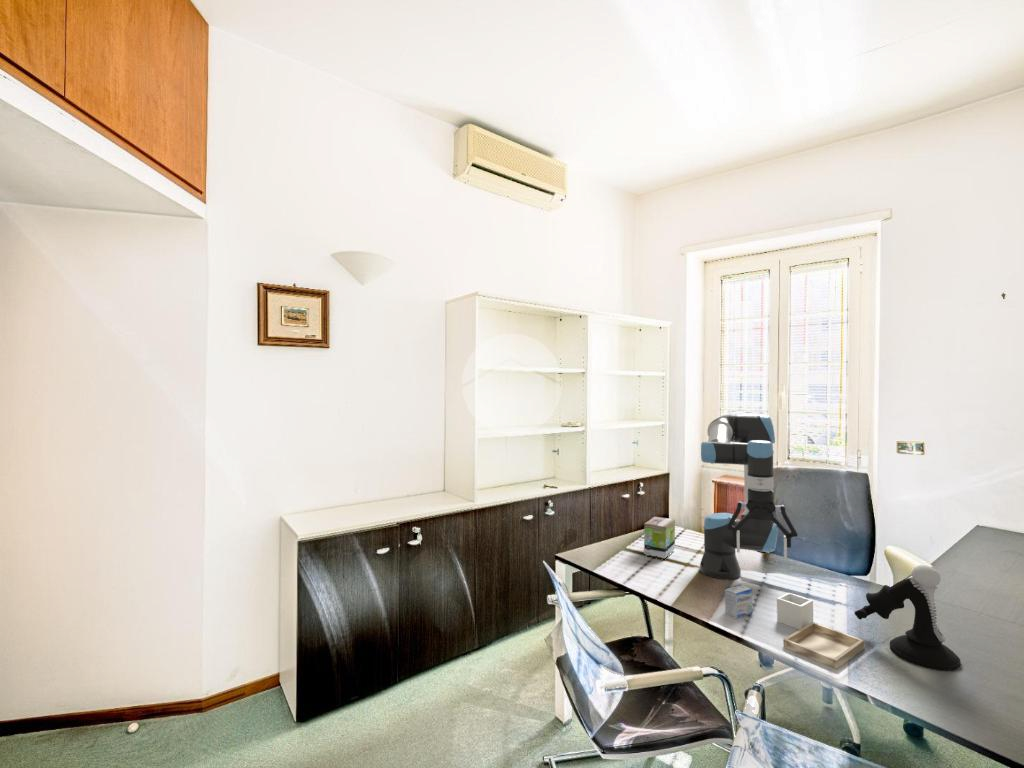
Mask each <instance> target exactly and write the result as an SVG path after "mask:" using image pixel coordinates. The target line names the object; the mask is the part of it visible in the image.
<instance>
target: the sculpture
mask: <svg viewBox="0 0 1024 768" xmlns="http://www.w3.org/2000/svg"><path fill="white" fill-rule="evenodd" d="M940 582H941V575H940V573H939V572H938V570H936V569H935V568H934V567H932V566H929V565H926V564H925V565H924V564H920V565H916V566H914V567H913V569H912V570H911V577H908V578H904V579H902V580H900V581H897V582H896V583H894V584H893V585H891V586H890V585H887V584H885V585H882V587H881V589H880V590H879V591H878V592H874V593H873V592H872V593H871V592H868V593H866V594H865V598H866V601H867V602H868V605H864V606H863V607H862V608H860V609H858V610H855V611H854V616H856V618H858V620H862V619H867V617H868V616H870V615H873V614H875V613H876V614H877V615H878V616H880V617H881V618H883V619H885V620H889V618H890V615H891V614H892V612H893V611H896V610H898V609H904V607H905V601H906V600H909V601H910V602H911V603H912V605H913V607H914V619H913V625H912V628H911V629H908V630H905V634H904V635H903V634H902V635H899V636H896V637H894V638H892V639H891V640H890V641H889V649H890V651H891V652H892V654H894V655H895V656H897V657H898V658H899V659H902V660H903V661H906V662H908V663H910V664H913V665H914V666H919V667H922V668H924V669H925V668H926V669H930V670H933V671H940V672H941V671H942V672H947V671H948V672H950V671H951V672H952V671H953V672H954V671H956V670H959V669H960V668H961V665H962V664H961V658H960V657H959V656H958V655H957V654H956V653H955V652H954V651H953V650H952V649H950V648H949V647H948V646H946V645H945V644H943V643H945V642H946V637H945V636H944V634H943V633H942V632H941V630H940V629H939V626H938V624H937V610H936V608H937V607H936V606H935V605H936V603H935V592H936V590H937V589H938V588H939V587H938V585H939V584H940Z"/></svg>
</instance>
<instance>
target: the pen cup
mask: <svg viewBox="0 0 1024 768" xmlns="http://www.w3.org/2000/svg"><path fill="white" fill-rule="evenodd" d="M776 621H777V623H780V624H784V625H786V626H790V627H792V628H794V629H797V630H800V629H801V628H803V627H805V626H806V625H808V624H810V623H811V622H814V600H813V599H810V598H807V597H803V596H801V595H798V594H794V593H791V592H787V593H785V594H783V595H781V596H779V597H777V598H776Z"/></svg>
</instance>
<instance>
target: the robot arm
mask: <svg viewBox="0 0 1024 768" xmlns="http://www.w3.org/2000/svg"><path fill="white" fill-rule="evenodd" d="M707 436H708V441H703V442H701V443H700V459H701V460H700V461H702V462H703V463H706V464H712V465H714V464H720V465H721V464H722V465H741V466H742V465H743V467H744V468H743V473H744V474H743V479H744V486H743V487H744V502H742V501H741V500H738V501H737V504H736V509H735V511H734V512H733V513H731V512H730V513H729V512H714V513H710V514H708V515H706V516H705V517H704V520H703V521H704V522H703V533H704V534H703V535H704V536H703V537H704V539H703V541H704V542H703V544H704V545H703V546H704V548H703V549H704V551H703V554H702V558H701V560H700V563H699V571H700V573H702V574H703V575H705V576H708V577H709V578H710V577H711V578H716V579H720V580H734V579H739V578H741V575H742V573H741V571H742V570H741V567H740V563H739V560H738V558H737V556H736V553H740V552H741V551H740V550H744V551H745V550H746V551H753V552H755V551H756V552H761V553H762V552H765V553H772V552H774V551H775V550H776V547H777V543H778V532H779V530H780V531H781V532H782V533H783V534H784V535H783V558H784V559H788V549H791V547H792V538H794V537H795V538H796V537H798V532H797V530H796V528H795V526H794V525H793V523H792V521H791V519H790V517H789V515H788V514H787V512H786V506H785V505H784V504H781V505H775V498H774V497H775V493H774V490H773V489H774V487H775V486H774V453H775V452H774V446H773V444H775V443H776V437H775V429H774V425H773V420H772V418H771V417H770V416H769V415H768V414H758V413H757V414H733V413H732V414H731V413H730V414H726V415H721V416H719V417H717V418H715V419H713V420H712V421H711V422H710V423H709V424H708V427H707ZM741 510H743V512H742V513H741ZM776 510H777V511H778V513H780V514H781V516H782V517H783V520H784V521H785V523H786V525H787V526H788V529H789V530H790V531H789V530H788V529H787V528H786V527H785V526H784V525H783V524H782V522H781V521H780V520H779V519H778V518H777V517H776V515H775V514H774V512H775V511H776ZM739 515H740V518H738V517H739Z"/></svg>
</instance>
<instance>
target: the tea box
mask: <svg viewBox="0 0 1024 768" xmlns="http://www.w3.org/2000/svg"><path fill="white" fill-rule="evenodd" d="M643 527H644V530H643V532H644V533H643V534H644V535H643V536H644V538H643V539H644V540H643V547H644V548H643V555H644V554H646V555H652V556H658V557H662V558H666V557H667V556H668V557H670V556H671V554H670V553H672V552H673V550H674V549H675V550H676V519H673V518H667V517H661V516H660V517H659V516H653V517H651V518H650V519H649V520H648V521H646V522H644V526H643ZM673 553H674V552H673ZM673 553H672V554H673ZM669 555H670V556H669ZM668 557H667V558H668ZM667 558H666V559H667Z"/></svg>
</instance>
